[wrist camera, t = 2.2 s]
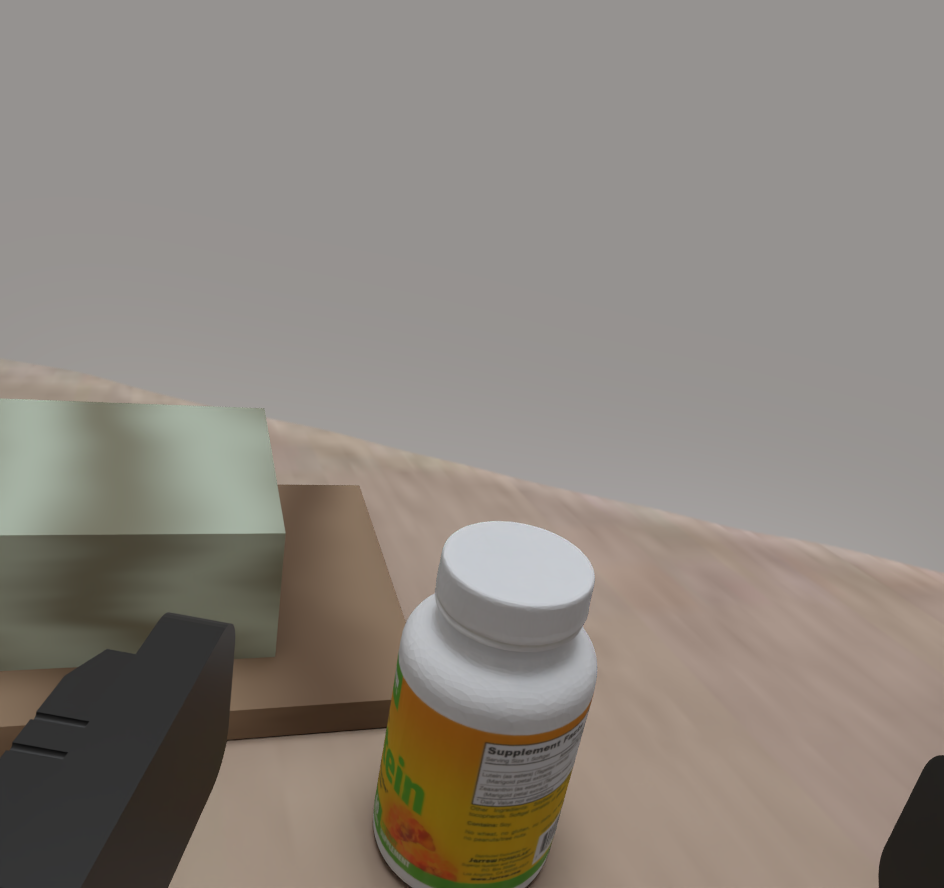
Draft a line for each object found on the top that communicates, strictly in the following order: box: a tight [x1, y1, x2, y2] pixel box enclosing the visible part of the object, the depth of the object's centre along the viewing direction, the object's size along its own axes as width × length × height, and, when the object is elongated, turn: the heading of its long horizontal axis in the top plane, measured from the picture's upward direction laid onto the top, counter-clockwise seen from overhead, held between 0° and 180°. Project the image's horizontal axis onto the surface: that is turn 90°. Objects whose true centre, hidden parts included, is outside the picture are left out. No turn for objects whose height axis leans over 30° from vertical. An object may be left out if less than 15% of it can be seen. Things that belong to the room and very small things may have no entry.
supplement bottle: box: [373, 521, 597, 888], centre depth 24 cm, size 5×5×10 cm
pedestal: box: [0, 399, 406, 757], centre depth 32 cm, size 20×15×6 cm
